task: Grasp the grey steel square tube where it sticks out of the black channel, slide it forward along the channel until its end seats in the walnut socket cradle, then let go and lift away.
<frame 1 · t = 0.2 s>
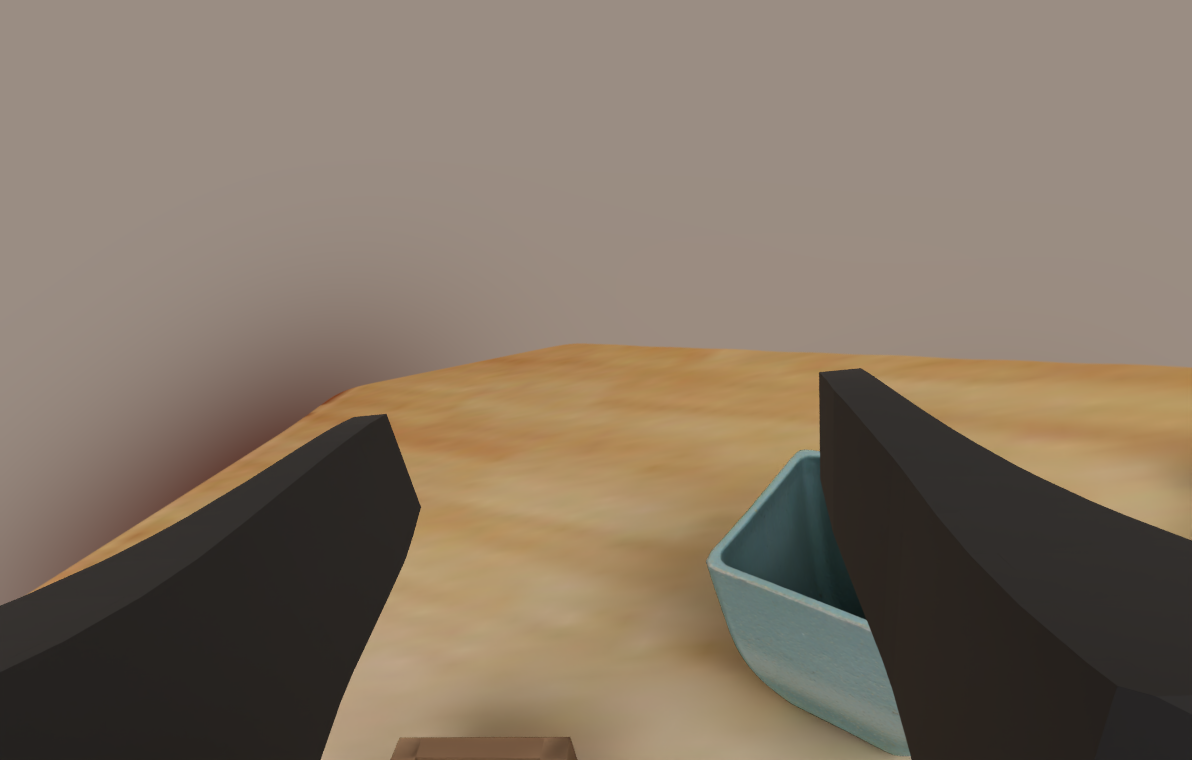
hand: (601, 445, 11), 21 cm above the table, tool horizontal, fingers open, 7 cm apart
flower pot: (860, 689, 29), on the table
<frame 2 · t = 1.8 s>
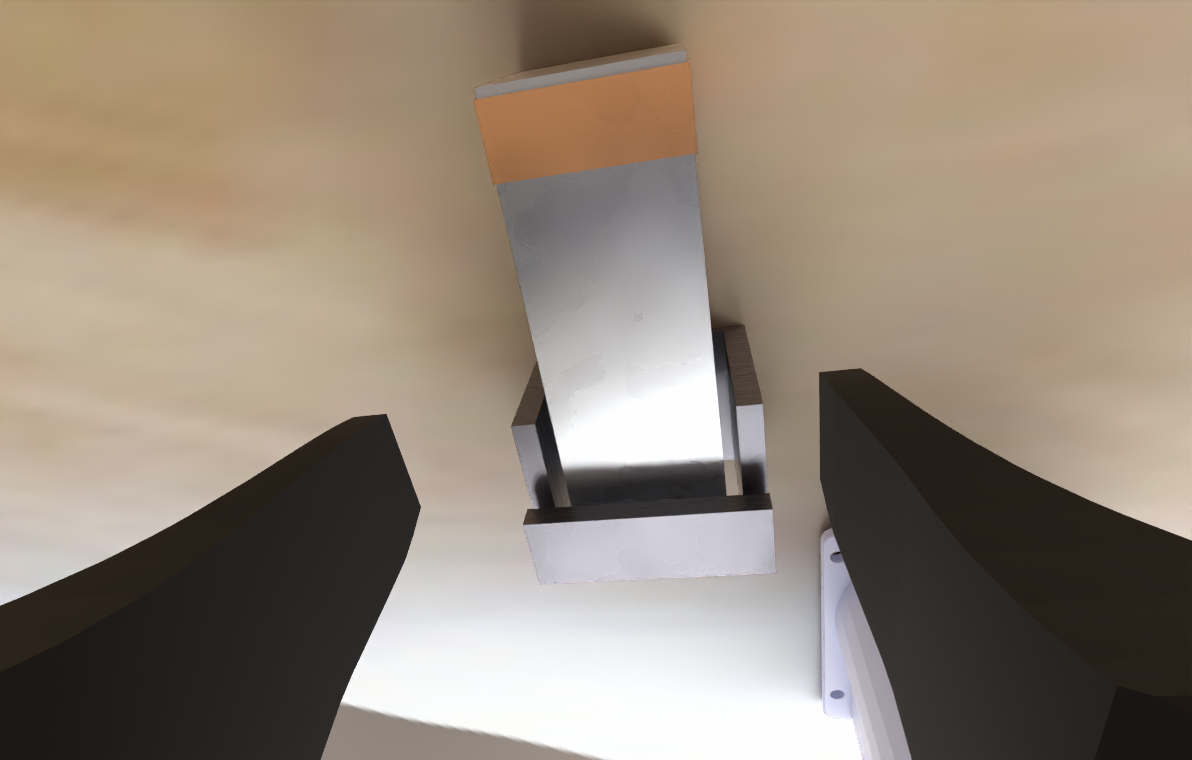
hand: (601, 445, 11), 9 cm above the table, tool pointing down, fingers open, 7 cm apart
sleeve: (650, 402, 20), on the table
tube: (628, 321, 17), point 2 cm above the table, slide at 0.0 cm
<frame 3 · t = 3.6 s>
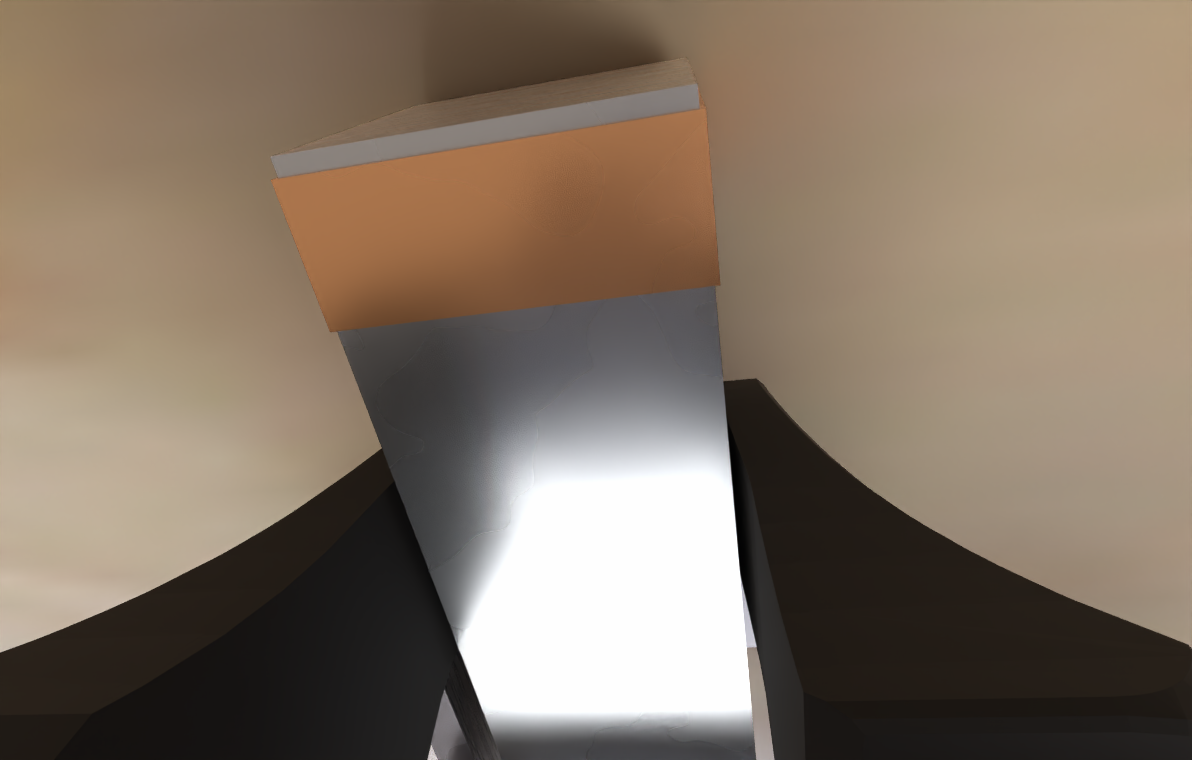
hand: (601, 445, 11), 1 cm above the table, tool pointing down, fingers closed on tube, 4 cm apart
sleeve: (638, 571, 14), on the table
tube: (600, 503, 10), point 2 cm above the table, slide at 0.0 cm, touching gripper
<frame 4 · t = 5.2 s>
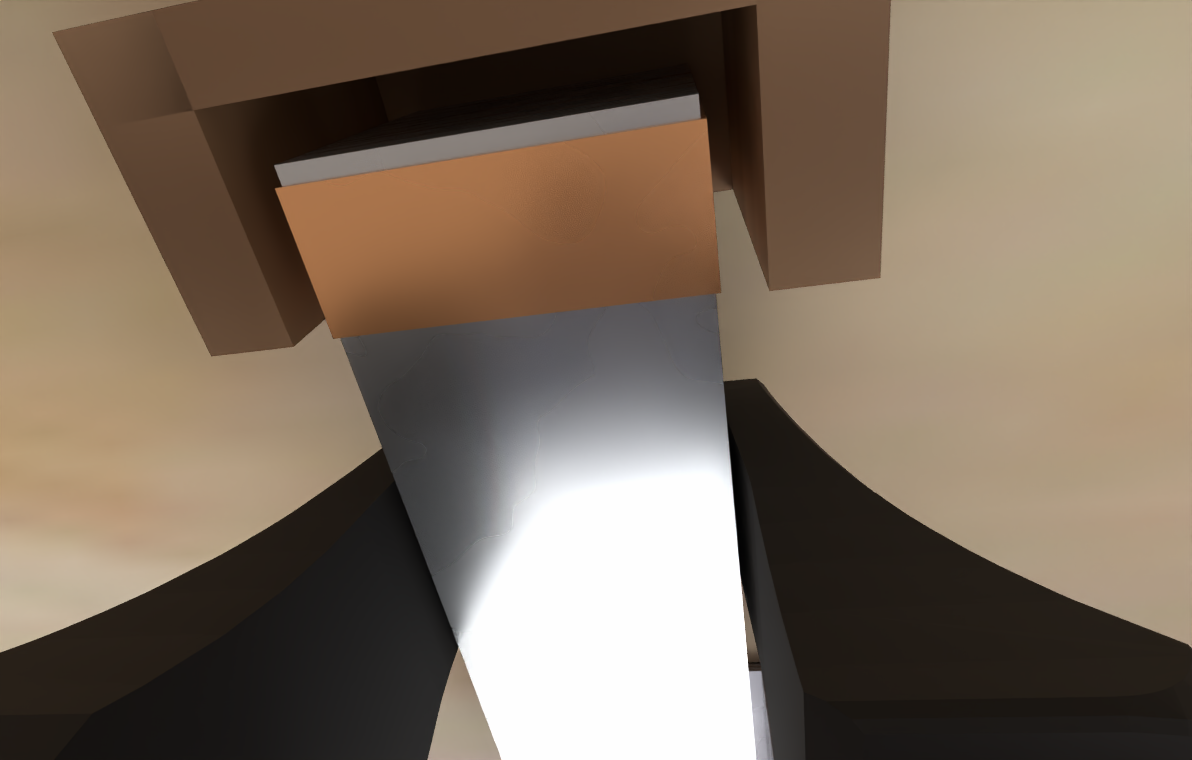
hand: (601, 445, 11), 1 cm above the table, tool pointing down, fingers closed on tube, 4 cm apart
socket: (553, 102, 10), on the table
sleeve: (667, 725, 17), on the table
tube: (601, 507, 10), point 2 cm above the table, slide at 5.2 cm, touching gripper
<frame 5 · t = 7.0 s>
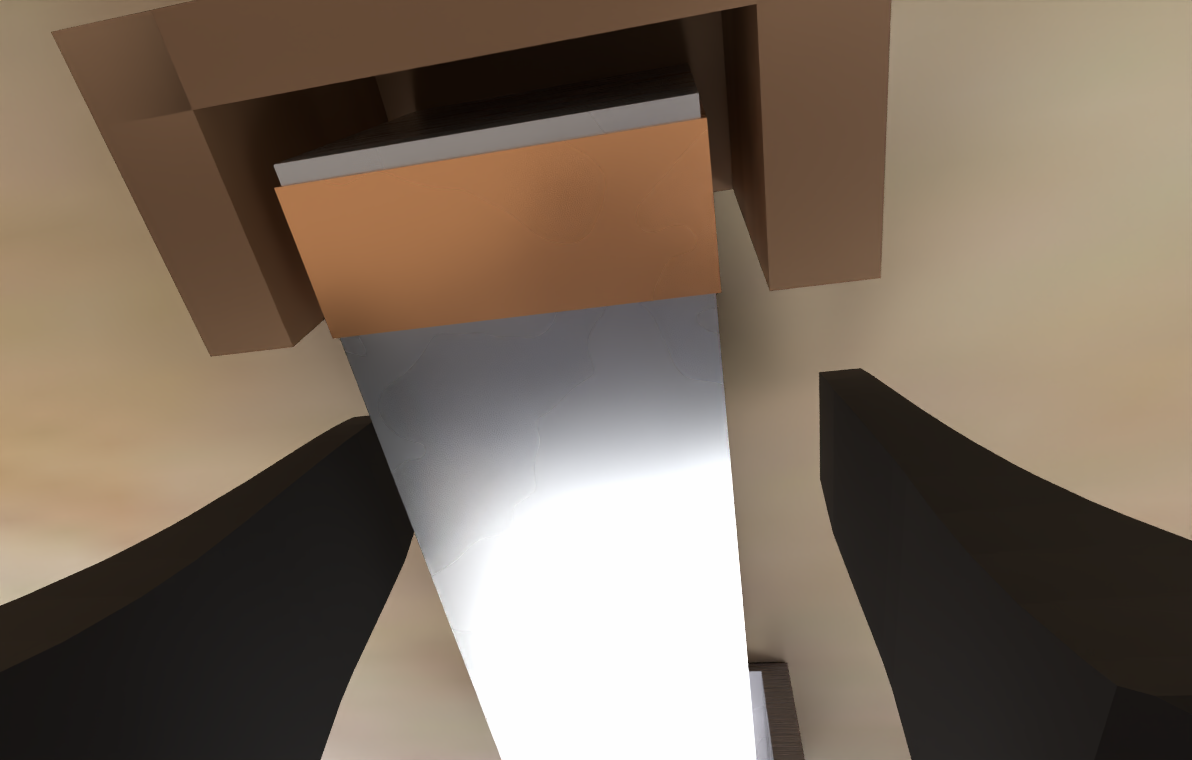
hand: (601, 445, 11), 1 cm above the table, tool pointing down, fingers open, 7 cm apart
socket: (553, 102, 10), on the table
sleeve: (667, 725, 17), on the table
tube: (601, 507, 10), point 2 cm above the table, slide at 5.2 cm
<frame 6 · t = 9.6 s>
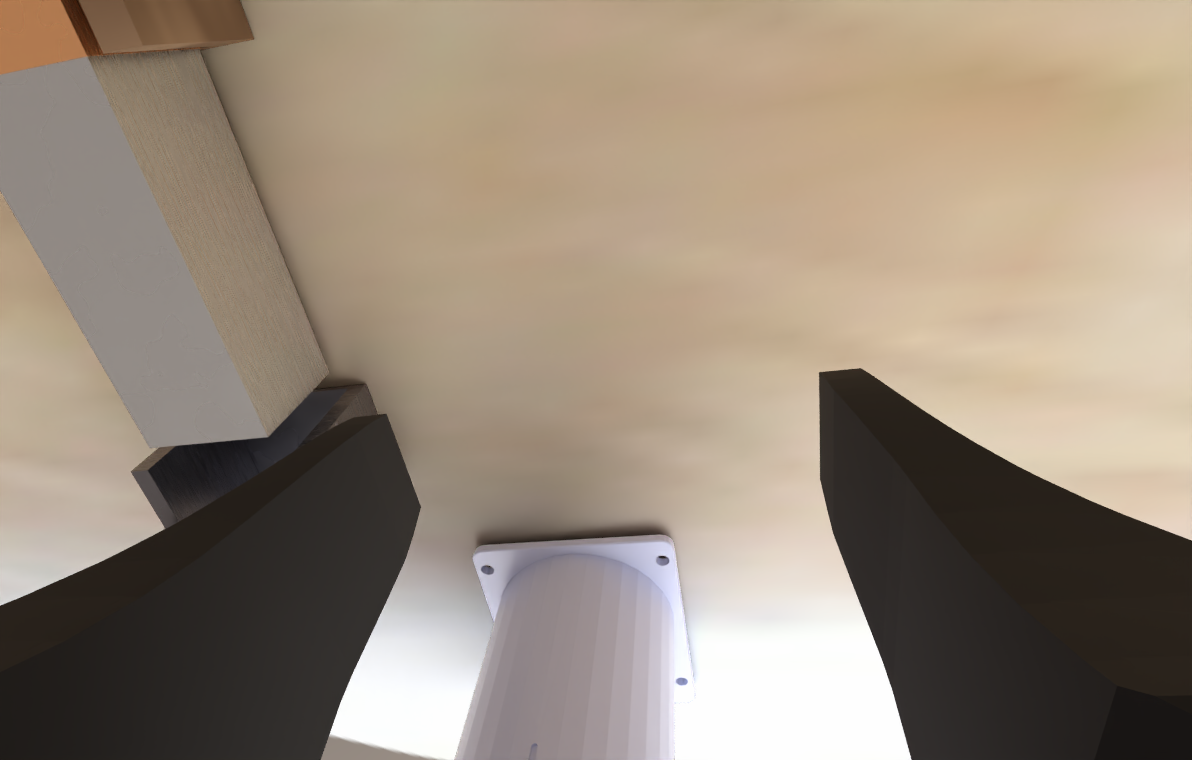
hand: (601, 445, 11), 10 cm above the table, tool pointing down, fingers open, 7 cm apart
sleeve: (312, 443, 25), on the table
tube: (158, 228, 19), point 2 cm above the table, slide at 5.2 cm
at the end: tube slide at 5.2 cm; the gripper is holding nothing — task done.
